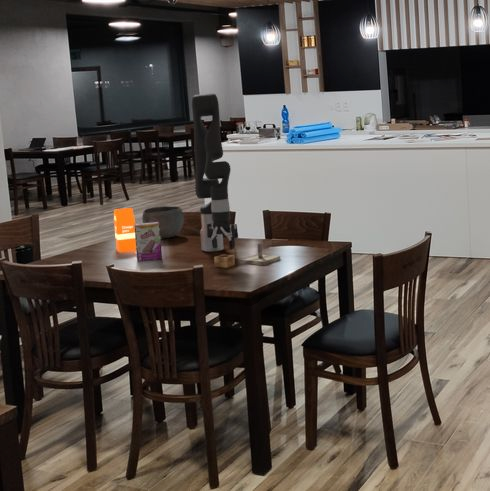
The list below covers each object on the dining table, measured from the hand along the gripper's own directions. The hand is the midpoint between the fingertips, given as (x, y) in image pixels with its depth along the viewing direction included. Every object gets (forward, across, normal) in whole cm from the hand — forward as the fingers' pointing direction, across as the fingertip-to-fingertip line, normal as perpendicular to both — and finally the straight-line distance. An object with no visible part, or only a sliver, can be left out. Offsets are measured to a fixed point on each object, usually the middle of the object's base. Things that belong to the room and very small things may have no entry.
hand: (223, 248), depth 358 cm
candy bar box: (+7, -41, -1) cm, 42 cm away
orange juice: (+7, -68, +13) cm, 70 cm away
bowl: (+6, -71, +44) cm, 84 cm away
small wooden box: (+7, 0, 0) cm, 7 cm away
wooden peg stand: (+7, +10, +12) cm, 17 cm away
